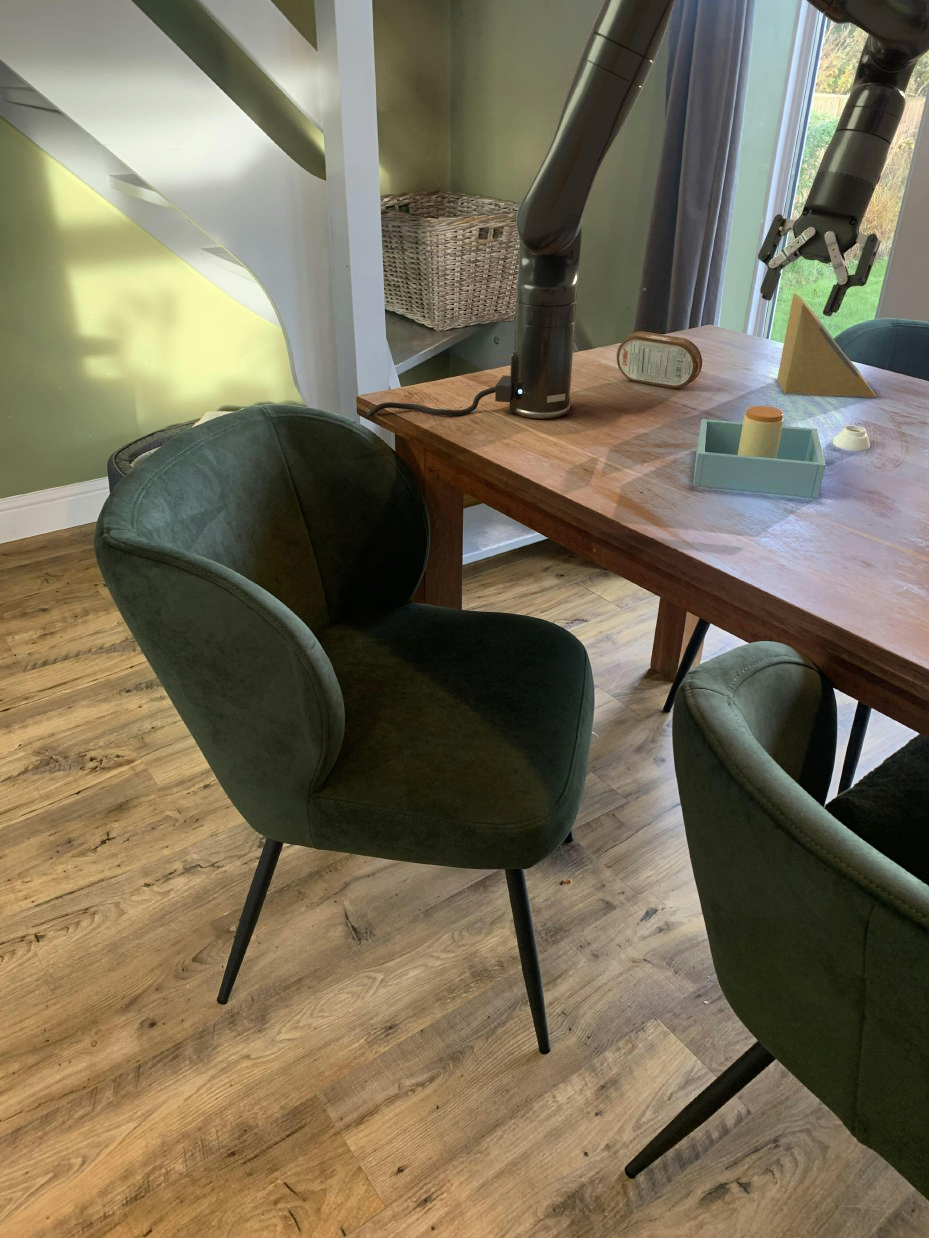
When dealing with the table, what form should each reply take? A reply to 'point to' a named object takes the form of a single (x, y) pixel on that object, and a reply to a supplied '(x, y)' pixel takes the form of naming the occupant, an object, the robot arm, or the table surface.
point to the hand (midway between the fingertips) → (795, 307)
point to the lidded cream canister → (761, 432)
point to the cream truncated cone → (852, 438)
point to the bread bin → (759, 461)
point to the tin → (659, 359)
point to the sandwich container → (816, 359)
